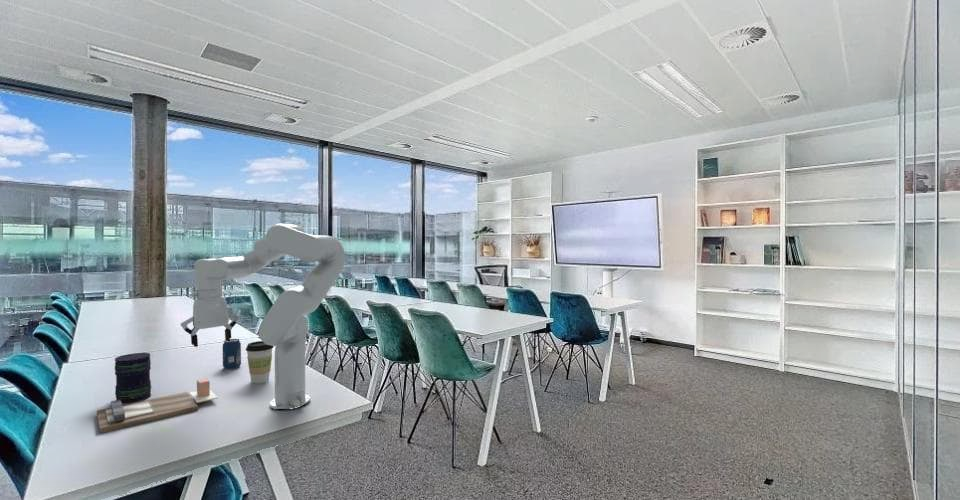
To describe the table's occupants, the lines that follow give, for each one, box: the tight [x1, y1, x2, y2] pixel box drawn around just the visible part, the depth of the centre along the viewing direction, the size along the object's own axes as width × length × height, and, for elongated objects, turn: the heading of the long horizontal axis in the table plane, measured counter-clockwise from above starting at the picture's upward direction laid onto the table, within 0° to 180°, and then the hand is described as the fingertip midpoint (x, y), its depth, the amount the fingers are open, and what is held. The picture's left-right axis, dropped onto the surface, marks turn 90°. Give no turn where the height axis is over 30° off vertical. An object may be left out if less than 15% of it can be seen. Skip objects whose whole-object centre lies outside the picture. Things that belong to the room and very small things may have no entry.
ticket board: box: [96, 391, 199, 434], centre depth 138 cm, size 18×24×4 cm
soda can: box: [222, 338, 242, 370], centre depth 186 cm, size 7×7×12 cm
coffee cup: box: [245, 340, 275, 384], centre depth 168 cm, size 10×10×15 cm
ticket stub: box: [189, 378, 219, 404], centre depth 148 cm, size 12×6×5 cm, turn 44°
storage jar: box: [114, 352, 152, 405], centre depth 150 cm, size 10×10×15 cm
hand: (212, 343), depth 148 cm, fingers open, 9 cm apart
